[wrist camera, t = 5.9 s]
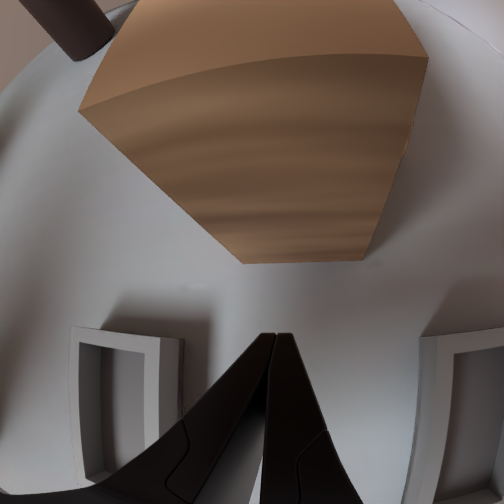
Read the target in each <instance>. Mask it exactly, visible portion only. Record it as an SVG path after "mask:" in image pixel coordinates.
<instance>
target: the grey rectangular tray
mask: <svg viewBox="0 0 504 504" xmlns="http://www.w3.org/2000/svg"><path fill="white" fill-rule="evenodd" d="M183 358H184V339H178V338H167V337H157V336H148V335H139V334H130V333H122V332H115V331H107V330H100V329H93V328H85V327H77V326H71V329H70V348H69V404H70V423H71V436H72V446H73V455H74V463H75V470H76V477H77V483H78V485H80V486H82V487H88V486H91V485H93V484H96V483H98V482H100V481H102V480H103V479H105V478H107V477H108V476H110V475H111V474H112V473H114V472H115V471H117V470H118V469H120V468H121V467H122V466H124V465H125V464H127V463H128V462H129V461H131V460H132V459H134V458H135V457H136V456H138V455H139V454H140V453H142V452H143V451H144V450H146V449H147V448H148V447H149V446H151V445H152V444H153V443H154V442H156V441H157V440H158V439H159V438H160V437H161V436H162V435H163V434H164V433H166V432H167V431H168V430H169V429H170V428H171V427H172V426H173V425H174V424H175V423H176V422H177V421H178V420H179V419H182V399H183Z"/></svg>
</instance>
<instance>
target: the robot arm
mask: <svg viewBox="0 0 504 504" xmlns="http://www.w3.org/2000/svg"><path fill="white" fill-rule="evenodd" d="M262 456H263V461H262V475H261V489H260V503H259V504H363V502H362V500H361V499H360V497H359V495H358V493H357V492H356V490H355V488H354V486H353V485H352V483H351V481H350V479H349V477H348V475H347V473H346V471H345V469H344V467H343V465H342V463H341V461H340V459H339V457H338V454H337V452H336V449H335V447H334V445H333V442H332V439H331V436H330V434H329V431H328V430H327V426H326V423H325V420H324V418H323V415H322V412H321V409H320V407H319V404H318V401H317V398H316V396H315V393H314V390H313V388H312V385H311V382H310V379H309V377H308V374H307V371H306V369H305V366H304V363H303V360H302V358H301V355H300V352H299V350H298V347H297V344H296V342H295V339H294V336H293V334H292V333H278V334H277V335H276V333H261V334H259V336H258V337H257V338H256V339H255V340H254V341H253V342H252V343H251V344H250V346H249V347H248V348H247V349H246V350H245V351H244V352H243V353H242V354H241V355H240V357H239V358H238V359H237V360H236V361H235V362H234V363H233V364H232V365H231V366H230V367H229V368H228V370H227V371H226V372H225V373H224V374H223V375H222V376H221V377H220V378H219V379H218V380H217V381H216V382H215V383H214V384H213V385H212V386H211V388H210V389H209V390H208V391H207V392H206V393H205V394H204V395H203V396H202V397H201V398H200V399H199V400H198V401H197V402H196V403H195V404H194V405H193V406H192V407H191V408H190V409H189V410H188V411H187V412H186V413H185V414H184V415H183V416H182V419H179V420H178V421H177V422H176V423H175V424H174V425H173V426H172V427H171V428H170V429H169V430H168V431H167V432H166V433H164V434H163V435H162V436H161V437H160V438H159V439H158V440H157V441H156V442H154V443H153V444H152V445H151V446H149V447H148V448H147V449H146V450H144V451H143V452H142V453H140V454H139V455H138V456H136V457H135V458H134V459H132V460H131V461H129V462H128V463H127V464H125V465H124V466H122V467H121V468H120V469H118V470H117V471H115V472H114V473H112V474H111V475H110V476H108V477H107V478H105V479H103V480H102V481H100V482H98V483H96V484H93V485H91V486H88V487H84V488H80V489H74V490H67V491H59V492H50V493H39V494H25V495H11V494H9V493H7V492H6V491H4V490H3V489H1V488H0V504H249V501H250V497H251V494H252V491H253V487H254V484H255V480H256V477H257V473H258V470H259V466H260V463H261V459H262Z"/></svg>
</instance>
